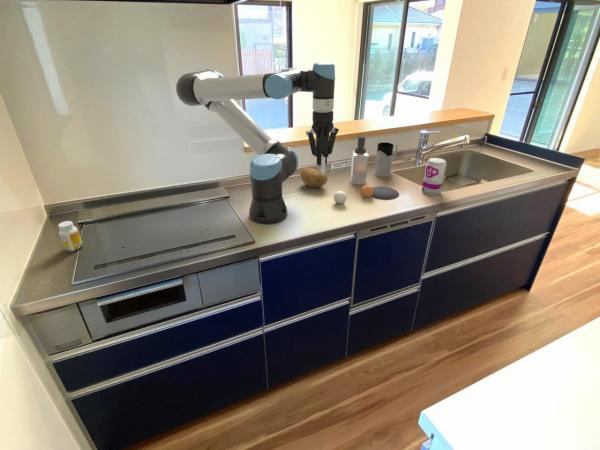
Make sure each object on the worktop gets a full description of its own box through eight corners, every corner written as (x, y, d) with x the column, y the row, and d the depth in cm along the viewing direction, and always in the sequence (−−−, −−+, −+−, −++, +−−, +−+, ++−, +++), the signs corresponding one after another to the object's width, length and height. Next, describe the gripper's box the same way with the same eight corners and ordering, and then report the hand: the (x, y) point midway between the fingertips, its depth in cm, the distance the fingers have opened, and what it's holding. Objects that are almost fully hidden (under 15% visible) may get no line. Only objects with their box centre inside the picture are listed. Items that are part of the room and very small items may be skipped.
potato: (319, 193, 155) (319, 177, 151) (296, 185, 163) (295, 169, 159) (332, 187, 161) (332, 171, 157) (309, 179, 170) (309, 164, 166)
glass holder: (369, 173, 177) (372, 144, 169) (387, 166, 184) (390, 139, 177) (383, 178, 171) (387, 148, 163) (400, 171, 179) (405, 142, 171)
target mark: (380, 202, 147) (380, 201, 147) (361, 190, 158) (361, 189, 158) (405, 195, 152) (405, 195, 152) (385, 184, 163) (385, 184, 163)
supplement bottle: (64, 254, 114) (54, 229, 110) (66, 245, 119) (56, 221, 114) (82, 250, 116) (73, 225, 111) (84, 242, 121) (75, 218, 116)
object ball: (365, 200, 149) (366, 188, 146) (357, 195, 153) (358, 184, 150) (375, 198, 151) (376, 186, 148) (367, 193, 155) (369, 182, 152)
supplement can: (433, 197, 151) (440, 164, 144) (417, 191, 157) (423, 159, 149) (444, 192, 155) (451, 160, 148) (428, 186, 161) (434, 156, 153)
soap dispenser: (363, 177, 171) (367, 133, 160) (365, 184, 164) (369, 138, 153) (350, 177, 172) (353, 133, 161) (351, 184, 164) (355, 138, 153)
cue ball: (337, 207, 143) (338, 195, 140) (330, 202, 147) (331, 190, 145) (348, 204, 145) (349, 192, 143) (341, 199, 150) (342, 187, 147)
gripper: (312, 114, 118) (311, 178, 129) (344, 110, 123) (340, 172, 134) (302, 110, 123) (302, 172, 135) (333, 106, 129) (330, 166, 140)
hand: (321, 172), depth 135 cm, fingers closed
